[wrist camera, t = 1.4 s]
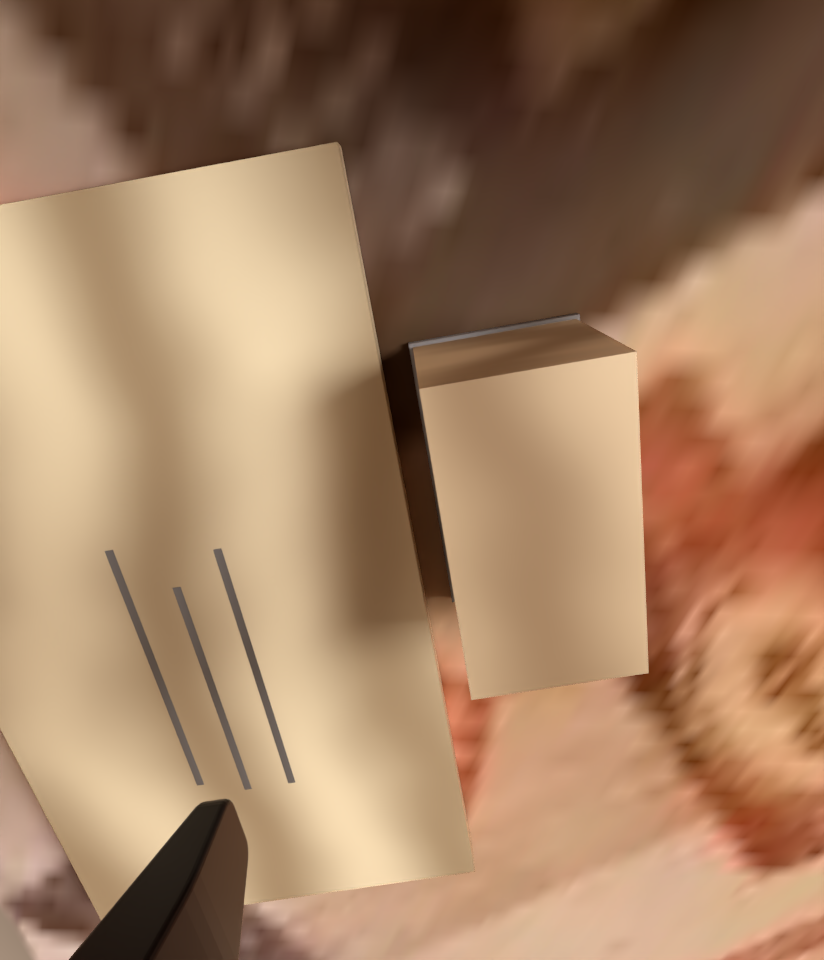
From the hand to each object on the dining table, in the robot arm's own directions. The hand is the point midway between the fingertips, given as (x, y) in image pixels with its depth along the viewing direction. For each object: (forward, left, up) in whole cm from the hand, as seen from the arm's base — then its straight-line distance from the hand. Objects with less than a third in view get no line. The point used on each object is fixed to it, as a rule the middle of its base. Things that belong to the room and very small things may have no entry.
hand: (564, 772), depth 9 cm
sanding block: (-1, 0, -11) cm, 11 cm away
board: (+9, +3, -11) cm, 15 cm away
